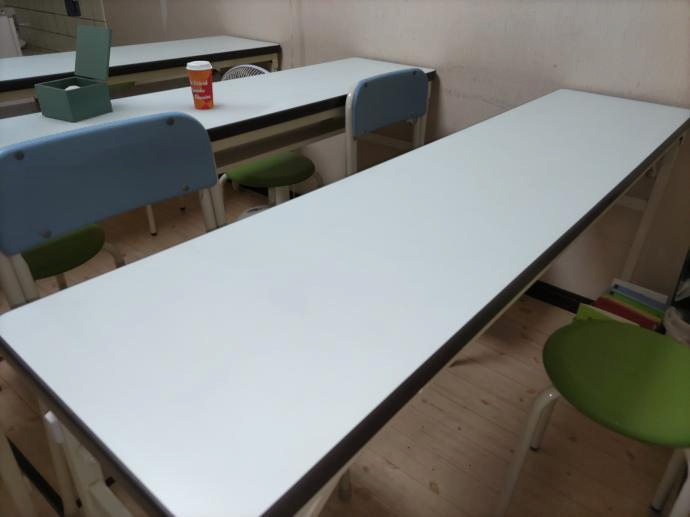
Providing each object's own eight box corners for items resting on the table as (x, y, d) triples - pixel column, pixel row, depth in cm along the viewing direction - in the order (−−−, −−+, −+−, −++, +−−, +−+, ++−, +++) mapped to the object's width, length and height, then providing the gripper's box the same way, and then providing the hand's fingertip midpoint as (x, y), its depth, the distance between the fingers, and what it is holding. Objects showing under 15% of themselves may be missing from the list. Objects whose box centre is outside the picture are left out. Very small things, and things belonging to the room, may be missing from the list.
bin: (73, 123, 144) (66, 91, 140) (42, 115, 149) (34, 84, 145) (112, 112, 155) (106, 82, 150) (82, 105, 160) (75, 76, 155)
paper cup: (187, 111, 158) (180, 64, 151) (200, 105, 165) (194, 59, 158) (209, 113, 157) (203, 66, 149) (222, 107, 163) (216, 61, 156)
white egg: (97, 108, 154) (91, 83, 150) (85, 115, 148) (78, 89, 144) (65, 107, 155) (58, 82, 151) (51, 114, 148) (44, 88, 145)
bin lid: (110, 29, 146) (112, 29, 147) (77, 24, 151) (80, 25, 152) (105, 80, 149) (107, 81, 150) (74, 74, 155) (76, 75, 155)
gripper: (55, -61, 140) (71, 12, 149) (29, -62, 127) (49, 18, 136) (83, -60, 140) (97, 13, 150) (60, -61, 127) (77, 19, 137)
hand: (74, 16), depth 143 cm, fingers closed
